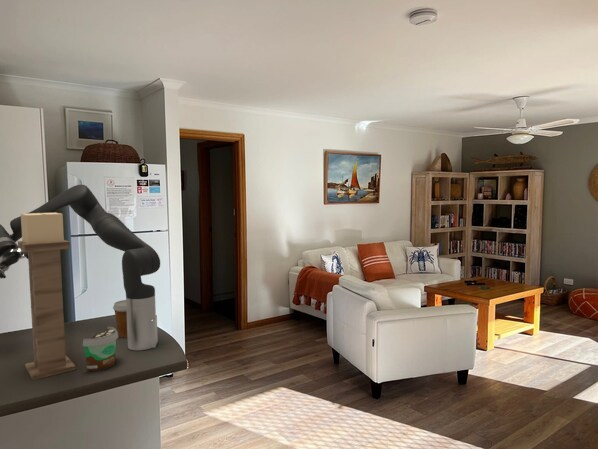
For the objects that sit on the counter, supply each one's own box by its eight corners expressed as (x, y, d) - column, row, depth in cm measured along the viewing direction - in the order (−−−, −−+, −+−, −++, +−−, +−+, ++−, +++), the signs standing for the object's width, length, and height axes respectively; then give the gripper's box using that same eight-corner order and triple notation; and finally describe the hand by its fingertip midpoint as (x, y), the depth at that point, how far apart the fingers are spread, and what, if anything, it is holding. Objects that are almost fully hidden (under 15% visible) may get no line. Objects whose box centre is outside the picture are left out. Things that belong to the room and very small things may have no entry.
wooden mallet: (63, 241, 128) (62, 213, 127) (28, 244, 122) (26, 214, 122) (47, 235, 145) (46, 210, 144) (15, 237, 139) (13, 211, 138)
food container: (102, 374, 127) (101, 340, 126) (83, 373, 128) (82, 339, 127) (127, 358, 139) (126, 327, 138) (110, 357, 140) (108, 326, 139)
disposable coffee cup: (116, 341, 154) (114, 307, 153) (112, 333, 163) (111, 301, 162) (144, 336, 159) (143, 303, 158) (139, 329, 167) (138, 298, 166)
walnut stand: (75, 369, 130) (69, 241, 127) (33, 380, 123) (25, 245, 120) (65, 357, 140) (59, 238, 136) (25, 367, 132) (17, 241, 129)
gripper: (-23, 257, 144) (-16, 274, 133) (17, 229, 150) (27, 243, 138) (-6, 272, 149) (3, 290, 137) (32, 244, 154) (44, 259, 143)
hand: (15, 266), depth 138 cm, fingers open, 8 cm apart
